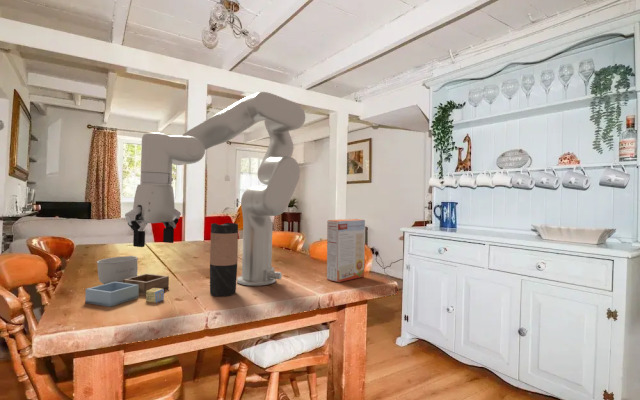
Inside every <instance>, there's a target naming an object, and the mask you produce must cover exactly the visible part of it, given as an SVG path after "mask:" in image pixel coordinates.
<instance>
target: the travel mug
mask: <svg viewBox="0 0 640 400" xmlns="http://www.w3.org/2000/svg"><path fill="white" fill-rule="evenodd" d="M210 225H211V226H210V247H209V249H210V250H209V294H210V295H211V296H212V297H219V298H220V297H230V296H234V295H235V294H236V291H237V278H238V256H239V255H238V246H239V245H238V244H239V243H238V241H239V224H238V223H235V222H234V223H233V222H225V223H223V224H218V223H216V222H214V223H210Z"/></svg>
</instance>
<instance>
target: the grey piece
mask: <svg viewBox="0 0 640 400" xmlns="http://www.w3.org/2000/svg"><path fill="white" fill-rule="evenodd" d="M138 259H139V257H138V256H134V255H129V256H114V257H107V258H103V259H99V260H97V261H96V264H97V276H98V280H99V282H100V283H101V284H102V285H103V284H107V283H111V282H122V283H123V279H127V278H131V277H135V276H138V269H139V267H138Z"/></svg>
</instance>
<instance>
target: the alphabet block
mask: <svg viewBox="0 0 640 400" xmlns="http://www.w3.org/2000/svg"><path fill="white" fill-rule="evenodd" d="M145 296H146V297H145V301H146V302H147V303H153V304H154V303H156V304H157V303H160V302H161V301H164V300H165V289H160V288H153V289H150V290H147V291H146V295H145Z"/></svg>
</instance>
